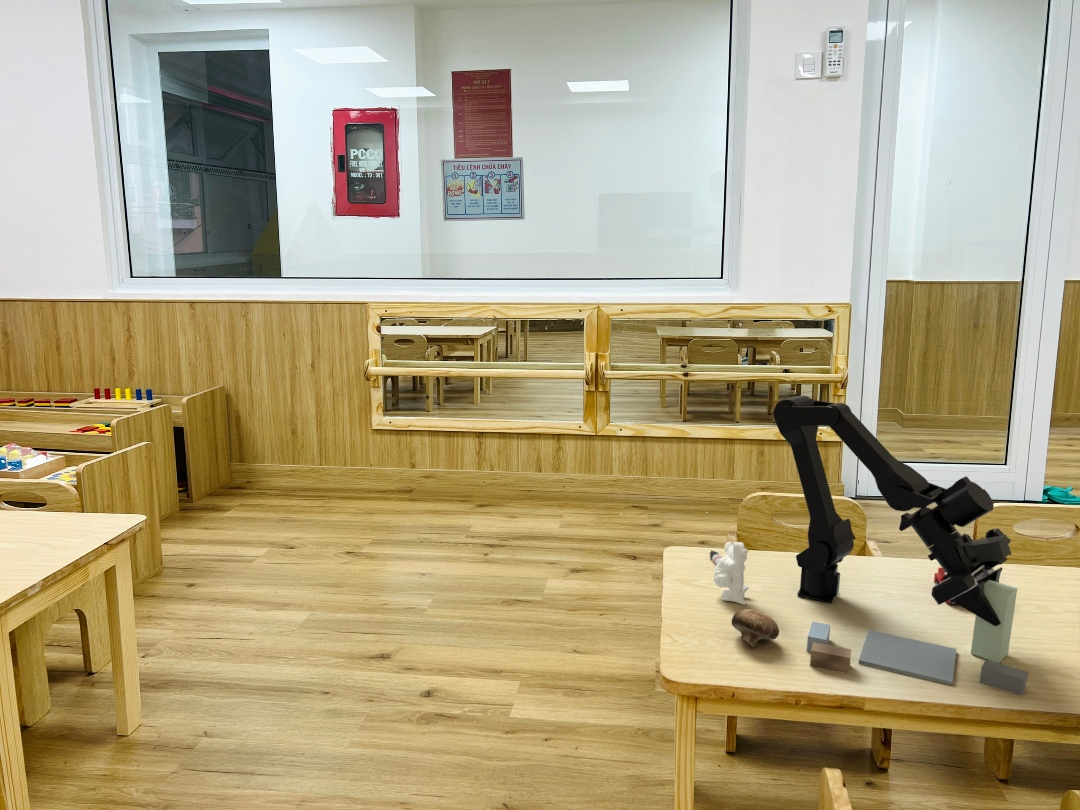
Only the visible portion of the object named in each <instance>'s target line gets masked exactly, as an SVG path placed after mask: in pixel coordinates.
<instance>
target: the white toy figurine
mask: <svg viewBox="0 0 1080 810" xmlns="http://www.w3.org/2000/svg"><path fill="white" fill-rule="evenodd" d="M724 552H725V555H724V556H722V558H721V559H720V561H719V563H718V564H717V566H716V565H715V567H714V572H713V573H714V574H713V581H714V584H715V585H716V586H717V587H719V588H728V589H723V590H722V591H721V594H722V596H721V597H720V600H723V601H726V602H735V603H738V604H740V605H743V606H744V605H747V601H746V600H745V599H744V598H745V595H746V594H745V593H747V591H748V590H749V587H748V586H747V585H746V584H745V583H744V582H745V581H744V579H745V577H744V576H745V574H744V573H745V571H746V565H745V562H746V561H747V559H748V558H747V557H748V555H747V554H748V553H749V550H748V549H747V548H745V544H744V542H739V541H734V542H731V541H727V542H726V543H725V544H724ZM744 584H745V585H744Z"/></svg>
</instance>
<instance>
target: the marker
mask: <svg viewBox="0 0 1080 810" xmlns="http://www.w3.org/2000/svg"><path fill="white" fill-rule="evenodd" d="M709 557H710V559H711V561H712V562H713V564H714V565H715V567H716V566H717V564H718V563H719V561H720V559H721V558H723V556H721V555H720V554H719V553H718V552H717V551H714V550H712V549H711V550H710V552H709Z"/></svg>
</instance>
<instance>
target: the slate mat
mask: <svg viewBox="0 0 1080 810" xmlns="http://www.w3.org/2000/svg"><path fill="white" fill-rule="evenodd" d="M956 655H957V648H955V647H950V646H946V645H940V644H937V643H931V642H927V641H922V640H917V639H913V638H910V637H904V636H900V635H895V634H890V633H886V632H882V631H876V630H872V629H868V631H867V635H866V638H865V640H864V643H863V646H862V649H861V652H860V655H859V658H858V664H860V665H865V666H869V667H873V668H877V669H880V670H881V669H882V670H885V671H890V672H894V673H899V674H903V675H907V676H911V677H915V678H920V679H924V680H928V681H933V682H937V683H941V684H945V685H949V686H953V683H954V682H953V681H954V673H955V665H956Z"/></svg>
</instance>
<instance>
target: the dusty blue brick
mask: <svg viewBox="0 0 1080 810" xmlns="http://www.w3.org/2000/svg"><path fill="white" fill-rule="evenodd" d="M830 632H831V624H829V623H824V622H818V621H813V620H812V621H811V625H810V628H809V631H808V635H807V640H806V641H807V642H806V652H808V653H811V649H812V645H813V642H815V643H820V644H826V645H829V641H830V634H831V633H830Z"/></svg>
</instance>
